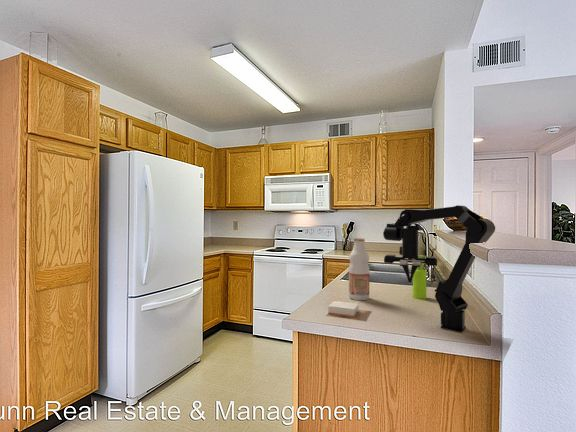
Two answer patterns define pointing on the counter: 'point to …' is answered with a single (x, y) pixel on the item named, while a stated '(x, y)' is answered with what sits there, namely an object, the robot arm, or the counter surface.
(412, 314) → the counter surface
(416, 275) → the soap dispenser
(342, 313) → the white box
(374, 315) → the counter surface
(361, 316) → the board
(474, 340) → the counter surface
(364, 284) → the fruit juice
